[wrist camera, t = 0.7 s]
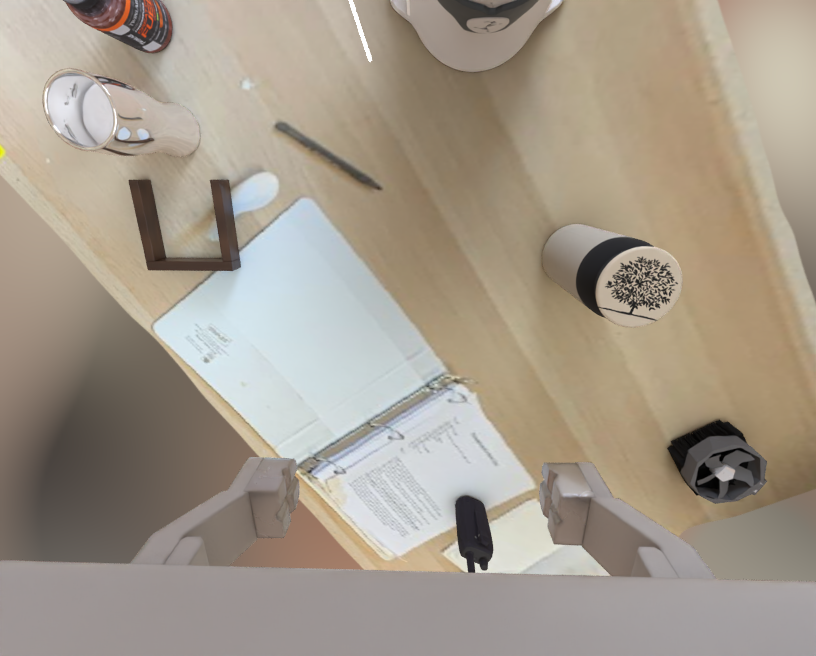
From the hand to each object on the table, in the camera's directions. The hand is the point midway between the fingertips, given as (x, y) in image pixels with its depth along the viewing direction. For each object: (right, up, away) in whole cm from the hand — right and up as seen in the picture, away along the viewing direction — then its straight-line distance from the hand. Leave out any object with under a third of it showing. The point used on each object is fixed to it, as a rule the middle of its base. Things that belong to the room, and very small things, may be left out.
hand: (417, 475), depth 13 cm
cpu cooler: (+45, -14, +49) cm, 69 cm away
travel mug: (+21, +14, +40) cm, 48 cm away
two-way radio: (+10, -24, +55) cm, 60 cm away
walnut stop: (-29, +19, +40) cm, 53 cm away
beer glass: (-29, +29, +37) cm, 55 cm away
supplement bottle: (-30, +40, +33) cm, 60 cm away
